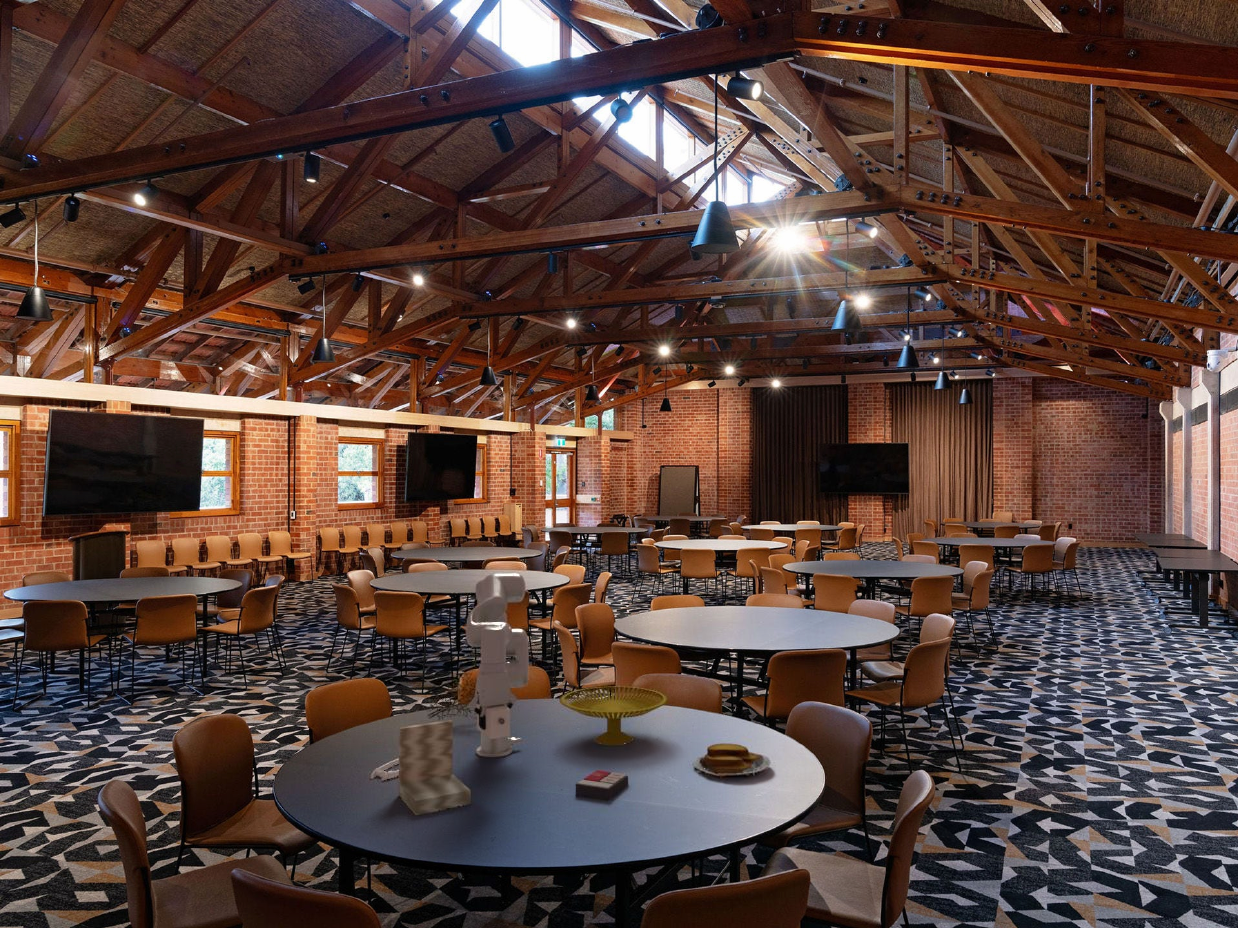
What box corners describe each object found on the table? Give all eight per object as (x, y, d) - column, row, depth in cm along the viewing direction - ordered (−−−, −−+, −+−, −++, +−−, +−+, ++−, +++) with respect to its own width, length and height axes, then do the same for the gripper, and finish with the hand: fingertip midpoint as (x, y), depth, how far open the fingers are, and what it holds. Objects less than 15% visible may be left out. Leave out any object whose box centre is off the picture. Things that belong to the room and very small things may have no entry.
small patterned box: (628, 773, 249) (608, 786, 235) (628, 787, 248) (608, 801, 235) (596, 768, 253) (575, 781, 239) (596, 782, 253) (574, 796, 239)
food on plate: (729, 788, 245) (728, 766, 245) (677, 767, 265) (677, 746, 266) (787, 772, 259) (787, 751, 260) (734, 752, 280) (734, 733, 280)
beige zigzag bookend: (450, 785, 248) (450, 719, 249) (470, 804, 233) (470, 733, 234) (398, 795, 240) (399, 727, 241) (415, 815, 225) (416, 742, 226)
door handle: (440, 760, 274) (388, 783, 251) (417, 756, 278) (364, 778, 256) (440, 752, 274) (388, 774, 251) (417, 748, 278) (365, 770, 256)
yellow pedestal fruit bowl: (644, 720, 321) (643, 682, 322) (687, 749, 283) (687, 705, 284) (546, 730, 307) (546, 690, 307) (578, 762, 269) (578, 717, 270)
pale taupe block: (495, 725, 252) (495, 699, 253) (511, 736, 241) (511, 709, 241) (476, 728, 249) (476, 702, 250) (492, 740, 238) (492, 712, 238)
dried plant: (402, 687, 303) (512, 637, 304) (425, 676, 334) (524, 630, 335) (434, 764, 299) (544, 712, 300) (453, 746, 330) (553, 699, 331)
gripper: (514, 662, 254) (514, 719, 253) (462, 668, 245) (461, 728, 245) (524, 666, 247) (524, 725, 247) (470, 673, 239) (470, 734, 238)
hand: (493, 726), depth 246 cm, fingers closed on pale taupe block, 6 cm apart
